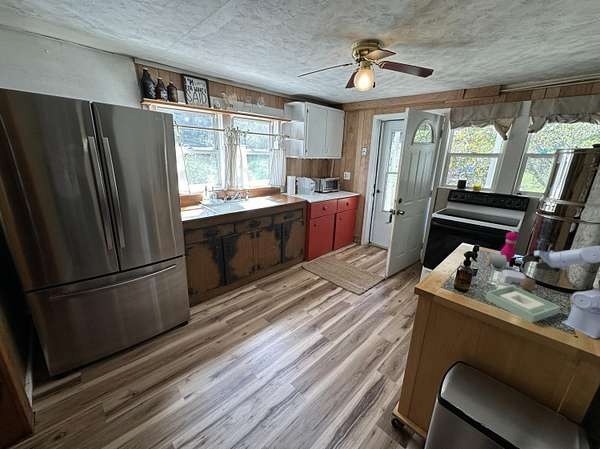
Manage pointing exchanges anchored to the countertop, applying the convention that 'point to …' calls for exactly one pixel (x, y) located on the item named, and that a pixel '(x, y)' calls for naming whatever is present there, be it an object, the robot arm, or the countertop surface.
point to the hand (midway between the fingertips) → (529, 262)
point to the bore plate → (523, 302)
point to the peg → (528, 285)
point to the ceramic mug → (497, 261)
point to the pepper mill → (509, 245)
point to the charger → (513, 277)
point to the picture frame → (548, 309)
